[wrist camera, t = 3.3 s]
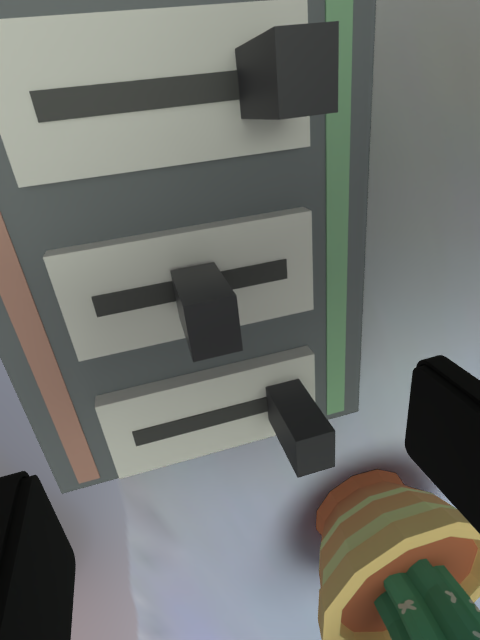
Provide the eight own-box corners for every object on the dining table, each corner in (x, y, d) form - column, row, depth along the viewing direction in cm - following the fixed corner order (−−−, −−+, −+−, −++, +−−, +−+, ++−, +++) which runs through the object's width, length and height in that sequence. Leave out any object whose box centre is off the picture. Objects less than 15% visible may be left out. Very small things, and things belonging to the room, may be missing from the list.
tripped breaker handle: (170, 270, 18) (182, 306, 15) (214, 262, 18) (236, 295, 15) (179, 318, 19) (193, 362, 16) (220, 309, 20) (243, 350, 16)
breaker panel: (-114, 20, 16) (-322, -65, 8) (341, -10, 19) (483, -89, 12) (67, 456, 26) (48, 588, 19) (337, 385, 30) (409, 473, 22)
